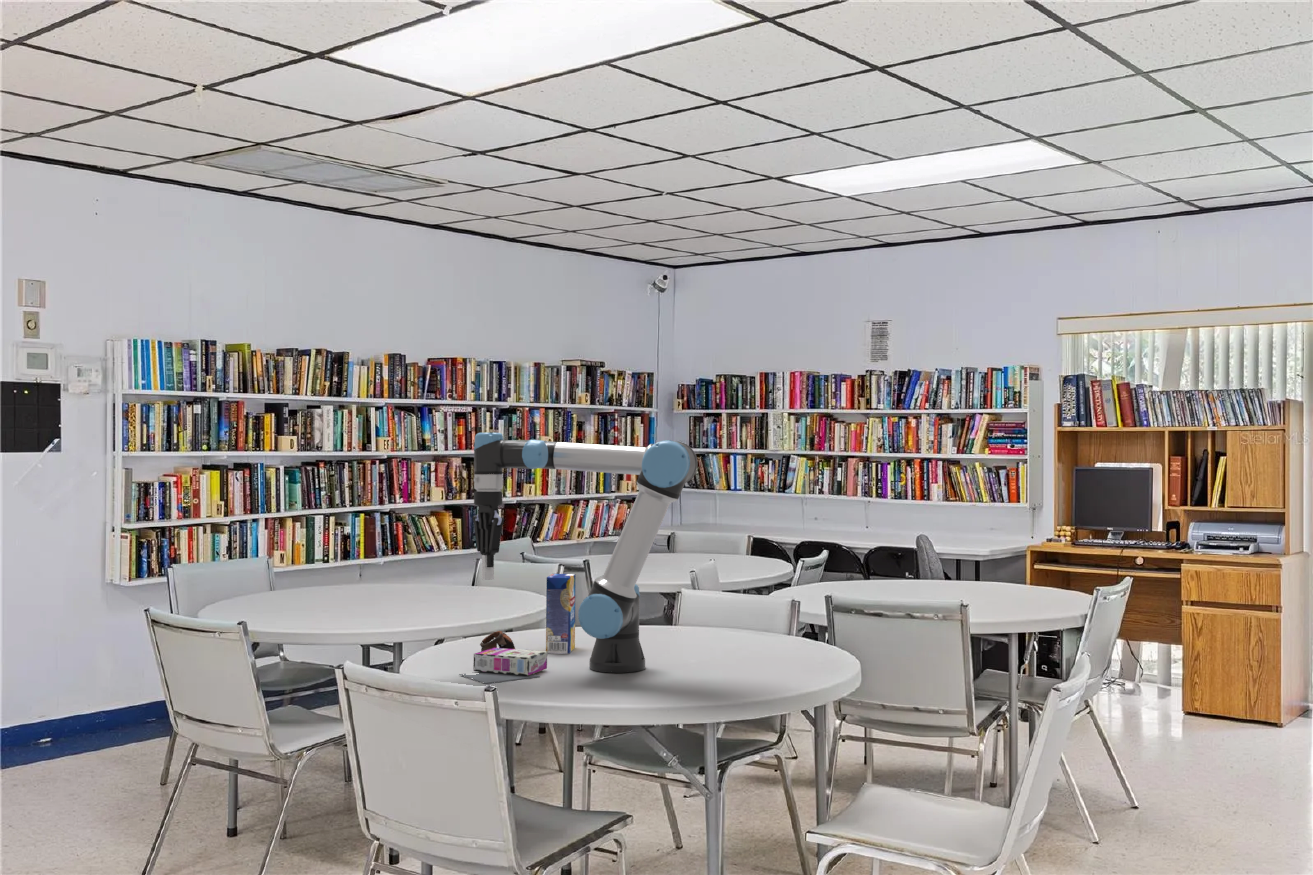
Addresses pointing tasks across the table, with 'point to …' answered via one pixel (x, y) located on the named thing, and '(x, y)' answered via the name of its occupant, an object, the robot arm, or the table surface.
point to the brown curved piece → (497, 641)
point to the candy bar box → (510, 661)
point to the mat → (497, 677)
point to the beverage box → (560, 613)
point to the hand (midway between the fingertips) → (487, 579)
